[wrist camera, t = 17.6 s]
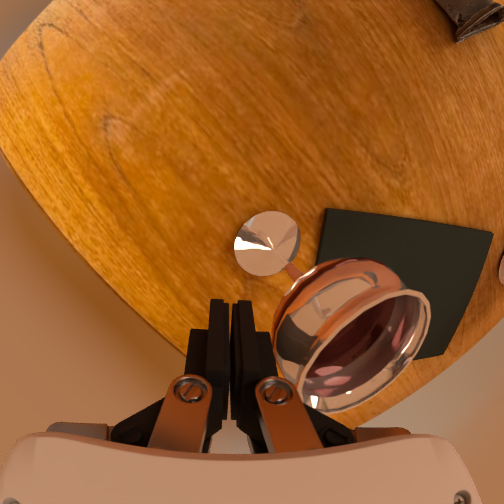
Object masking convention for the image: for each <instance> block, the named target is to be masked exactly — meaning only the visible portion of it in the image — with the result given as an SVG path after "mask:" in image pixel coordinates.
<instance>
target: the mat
mask: <svg viewBox="0 0 504 504" xmlns="http://www.w3.org/2000/svg"><path fill="white" fill-rule="evenodd" d="M493 235H494V234H493V233H491V232H488V231H483V230H477V229H472V228H466V227H461V226H455V225H449V224H443V223H437V222H430V221H424V220H417V219H411V218H404V217H397V216H389V215H382V214H374V213H366V212H358V211H349V210H340V209H331V208H326V210H325V215H324V221H323V227H322V232H321V238H320V243H319V248H318V254H317V259H316V264H315V266H316V265H319V264H321V263H324V262H326V261H329V260H331V259H333V258H339V257H350V256H354V257H367V258H370V259H373V260H376V261H379V262H382V263H384V264H385V265H386V266H388V267H390V268H391V269H392V270H393V271H394V272H395V273H396V274H397V275H398V277H399V278H400V279H401V280H402V281H403V283H404V284H405V285H406V286H407V289H410V290H414V291H417V292H421V293H423V295H424V296H425V297H426V299H427V300H428V301H429V303H430V312H431V319H430V323H429V327H428V331H427V334H426V336H425V339H424V341H423V343H422V345H421V347H420V349H419V351H418V352H417V354H416V355H415V357H414V358H413V359H412V360H418V359H423V358H429V357H434V356H439V355H443V354H444V352H445V350H446V348H447V347H448V345H449V343H450V341H451V339H452V337H453V335H454V333H455V331H456V329H457V327H458V325H459V323H460V321H461V319H462V317H463V315H464V313H465V310H466V308H467V306H468V304H469V301H470V299H471V297H472V294H473V292H474V290H475V287H476V285H477V282H478V279H479V277H480V274H481V271H482V269H483V266H484V263H485V260H486V257H487V254H488V251H489V248H490V245H491V242H492V238H493Z"/></svg>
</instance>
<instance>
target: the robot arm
mask: <svg viewBox="0 0 504 504" xmlns="http://www.w3.org/2000/svg"><path fill="white" fill-rule="evenodd" d="M229 382H230V403H231V420H236V423H237V427H239V429H240V430H241V431H243V432H244V433H246V434H247V441H248V444H249V448H250V451H251V454H209V453H210V448H211V442H212V435H214V434H215V433H216V432H218V431H219V430H220V429H222V420H227V409H228V396H229ZM0 504H482V501H481V499H480V497H479V494H478V492H477V489H476V487H475V485H474V482H473V480H472V478H471V476H470V475H469V472H468V470H467V468H466V466H465V465H464V463H463V461H462V459H461V458H460V456H459V455H458V453H457V452H456V451H455V449H454V448H453V446H452V445H451V444H450V443H449V442H448V441H446V440H445V439H443V438H441V437H438V436H434V435H428V434H427V435H426V434H411V433H410V432H409V431H408V430H406V429H404V428H399V427H393V428H361V427H356V428H355V429H354V430H350V429H349V428H347V427H346V426H344V425H343V424H341V423H339V422H337V421H335V420H333V419H332V418H330V417H328V416H326V415H324V414H322V413H321V412H319V411H317V410H315V409H314V408H312V407H310V406H308V405H307V404H305V403H303V402H302V400H301V397H300V395H299V393H298V391H297V389H296V387H295V386H294V384H293V383H291V382H290V381H289V380H287V379H285V378H281V377H278V372H277V367H276V362H275V357H274V352H273V347H272V342H271V337H270V333H269V332H256V331H255V324H254V317H253V310H252V303H251V301H246V300H238V303H237V304H235V303H233V305H232V319H231V332H230V340H229V303H224V299H211V301H210V314H209V328H208V330H206V329H191V330H190V336H189V343H188V350H187V357H186V365H185V373H184V375H182V376H180V377H177V378H176V379H174V380H173V381H172V382H171V384H170V386H169V388H168V391H167V394H166V397H164V398H163V399H161V400H159V401H158V402H155V403H154V404H152V405H150V406H148V407H147V408H145V409H143V410H142V411H139V412H138V413H136V414H134V415H132V416H130V417H129V418H127V419H125V420H123V421H121V422H119V423H118V424H117V425H115V426H108V425H107V424H90V423H68V422H56V423H54V424H52V425H50V426H49V427H48V429H47V431H46V432H38V433H32V434H27V435H25V436H22V437H21V438H19V439H18V440H17V441H16V442H15V443H14V444H13V446H12V447H11V449H10V450H9V452H8V454H7V456H6V458H5V460H4V462H3V464H2V467H1V469H0Z"/></svg>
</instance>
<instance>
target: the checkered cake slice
mask: <svg viewBox="0 0 504 504" xmlns="http://www.w3.org/2000/svg"><path fill="white" fill-rule="evenodd" d="M435 1H436V2H437V3H438V4H439V5H440V6H441V7H442V8H443V9H444V10H445V12H446V13H447V14H448V15H449V16H450V18H451V19H452V20H453V21H454V22H455V23H456V25H457V27H458V30H457V31H456V32H455V35H456V38H457V44H458V43H459V42H461V41H462V42H463V41H464V39H466V38H469V37H471V36H473V35H475V34H479V33H480V32H483V31H484V30H486V29H489V28H493V27H496V25H498V24H500V23H501V22H504V6H502V5H500V4H499V3H496V2H493V1H492V0H435Z"/></svg>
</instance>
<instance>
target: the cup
mask: <svg viewBox="0 0 504 504" xmlns="http://www.w3.org/2000/svg"><path fill="white" fill-rule="evenodd" d="M499 280H500V282H501V283H502V284H503V285H504V256H503V258H502V260H501V264H500V268H499Z"/></svg>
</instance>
